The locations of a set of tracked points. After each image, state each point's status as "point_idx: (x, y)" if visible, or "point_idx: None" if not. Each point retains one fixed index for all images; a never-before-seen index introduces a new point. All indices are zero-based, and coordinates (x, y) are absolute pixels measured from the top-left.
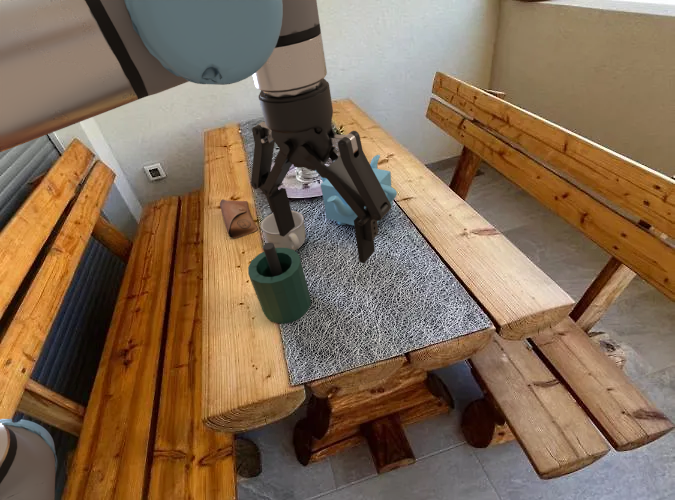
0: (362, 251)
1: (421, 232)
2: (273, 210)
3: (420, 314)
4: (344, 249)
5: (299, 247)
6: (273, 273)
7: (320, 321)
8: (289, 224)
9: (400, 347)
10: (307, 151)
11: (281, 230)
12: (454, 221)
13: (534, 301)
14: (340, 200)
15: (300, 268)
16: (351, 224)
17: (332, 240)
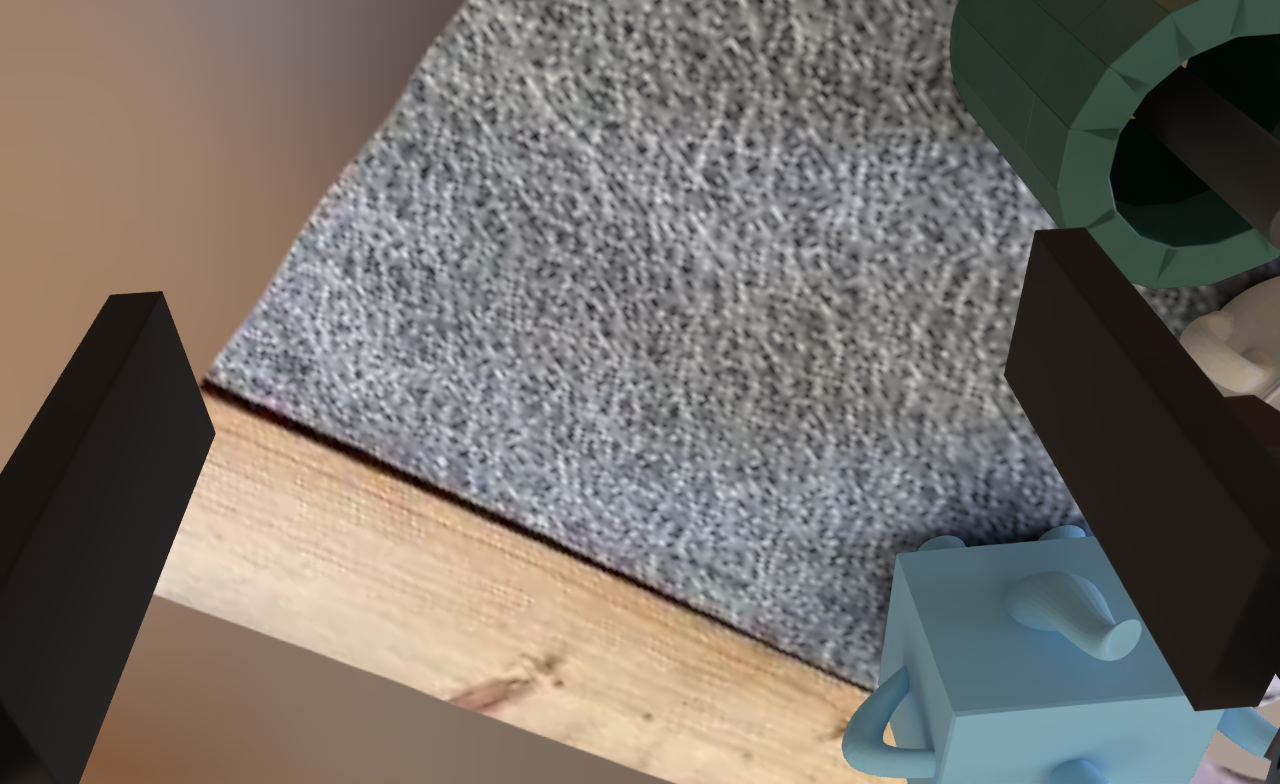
0: (64, 377)
1: (701, 617)
2: (1221, 415)
3: (462, 286)
4: (969, 424)
5: (1180, 337)
6: (1204, 98)
7: (850, 27)
8: (1039, 363)
9: (429, 101)
10: None
11: (1070, 268)
12: (615, 699)
13: None
14: (1078, 643)
15: (1051, 204)
16: (1001, 546)
17: None
